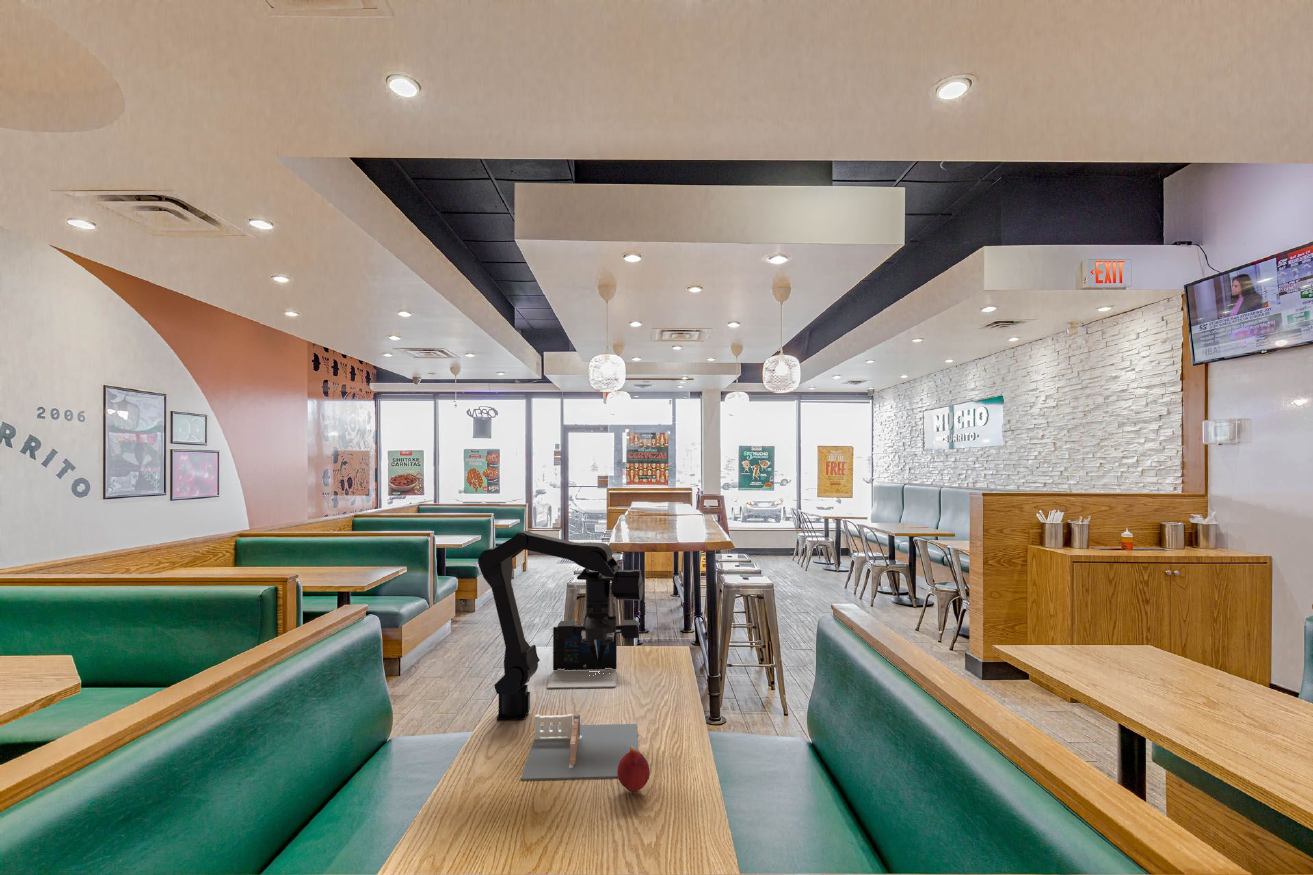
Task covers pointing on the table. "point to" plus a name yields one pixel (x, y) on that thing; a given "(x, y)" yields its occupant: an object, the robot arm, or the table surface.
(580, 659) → the laptop
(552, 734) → the fence fixed
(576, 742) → the fence gate
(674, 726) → the table surface
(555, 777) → the mat
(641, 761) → the onion
